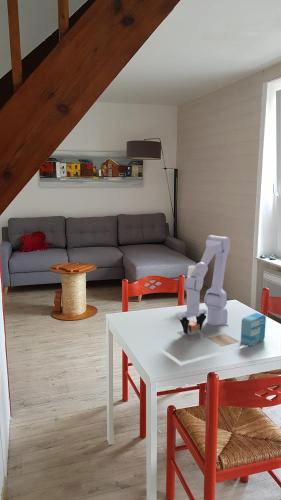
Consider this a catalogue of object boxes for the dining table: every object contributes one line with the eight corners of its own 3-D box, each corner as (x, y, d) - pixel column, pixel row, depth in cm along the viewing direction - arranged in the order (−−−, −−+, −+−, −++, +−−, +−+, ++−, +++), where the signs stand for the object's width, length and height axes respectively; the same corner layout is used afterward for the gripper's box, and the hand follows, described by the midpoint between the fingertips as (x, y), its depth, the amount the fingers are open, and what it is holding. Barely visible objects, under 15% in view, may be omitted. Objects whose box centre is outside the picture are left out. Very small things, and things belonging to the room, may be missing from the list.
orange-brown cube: (193, 331, 191) (193, 321, 190) (199, 334, 187) (199, 324, 186) (185, 333, 188) (185, 322, 188) (191, 336, 185) (191, 326, 184)
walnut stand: (224, 336, 188) (224, 333, 188) (239, 344, 180) (239, 341, 179) (207, 340, 183) (207, 337, 183) (221, 348, 175) (221, 346, 175)
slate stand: (194, 330, 195) (194, 328, 194) (207, 338, 186) (207, 335, 186) (176, 334, 190) (176, 332, 189) (189, 342, 181) (189, 339, 181)
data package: (249, 347, 176) (250, 321, 174) (240, 344, 180) (241, 318, 177) (264, 340, 184) (266, 314, 182) (255, 337, 187) (257, 311, 185)
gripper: (185, 308, 178) (184, 337, 180) (211, 302, 185) (210, 331, 187) (175, 303, 184) (175, 332, 186) (201, 298, 191) (200, 326, 194)
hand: (192, 331), depth 187 cm, fingers open, 7 cm apart
